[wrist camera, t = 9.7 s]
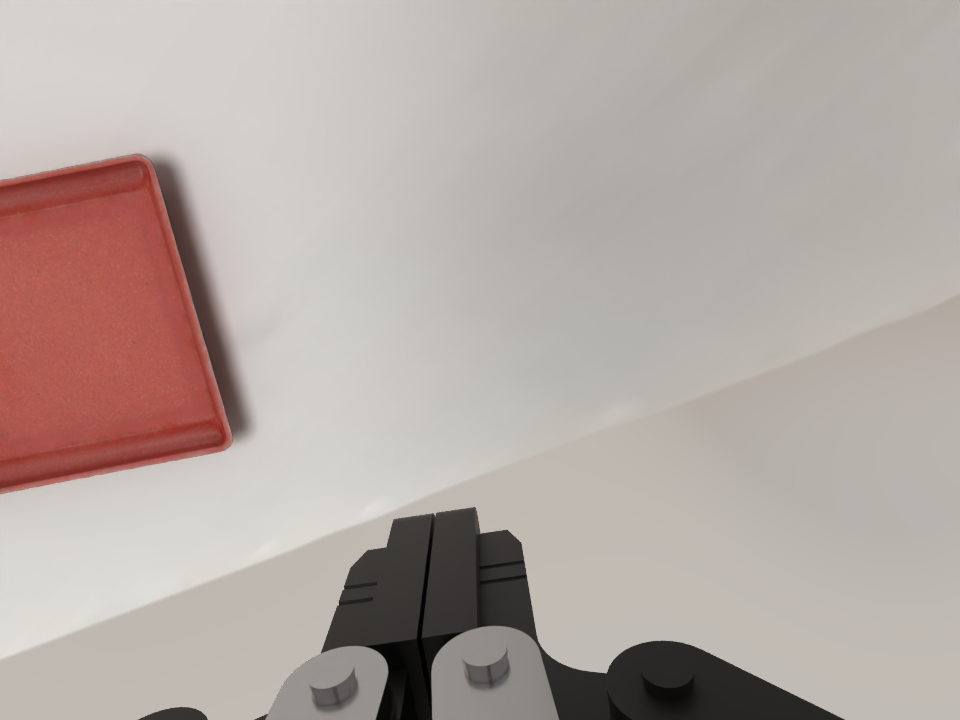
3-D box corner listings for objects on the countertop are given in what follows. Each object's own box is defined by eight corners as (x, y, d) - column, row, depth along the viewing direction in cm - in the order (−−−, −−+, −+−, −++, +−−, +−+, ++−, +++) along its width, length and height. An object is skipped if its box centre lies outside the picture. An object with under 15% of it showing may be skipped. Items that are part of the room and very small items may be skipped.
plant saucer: (174, 156, 37) (146, 149, 34) (253, 433, 41) (234, 450, 38) (-112, 213, 38) (-166, 212, 34) (-7, 482, 42) (-48, 504, 38)
